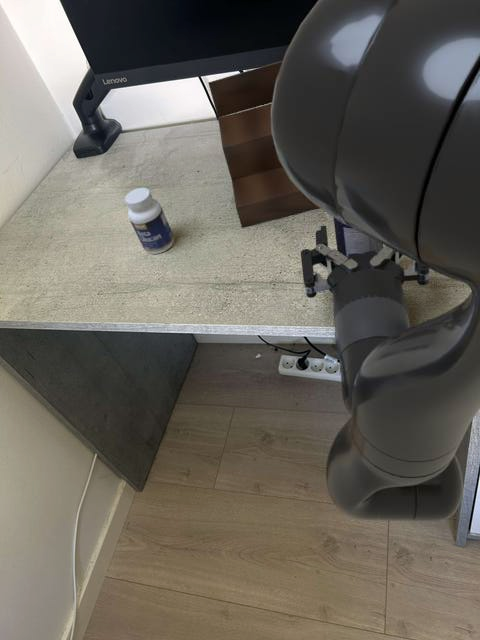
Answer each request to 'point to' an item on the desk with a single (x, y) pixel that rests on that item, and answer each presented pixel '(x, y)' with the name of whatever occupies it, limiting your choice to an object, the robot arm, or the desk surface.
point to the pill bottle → (149, 221)
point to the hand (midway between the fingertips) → (357, 226)
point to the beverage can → (353, 240)
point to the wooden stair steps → (254, 147)
